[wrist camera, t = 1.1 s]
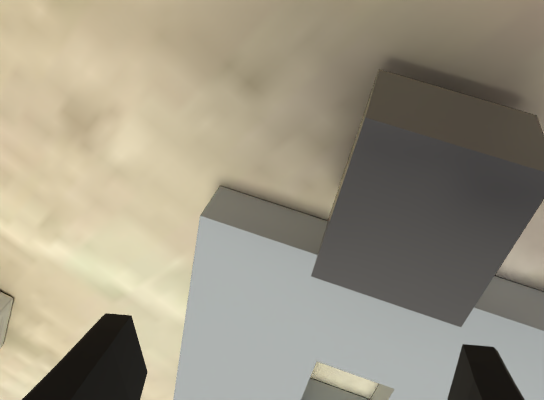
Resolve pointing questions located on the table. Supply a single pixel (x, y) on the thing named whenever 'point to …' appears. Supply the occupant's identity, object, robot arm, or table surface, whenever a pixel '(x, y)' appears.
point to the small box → (4, 314)
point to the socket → (325, 319)
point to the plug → (431, 198)
